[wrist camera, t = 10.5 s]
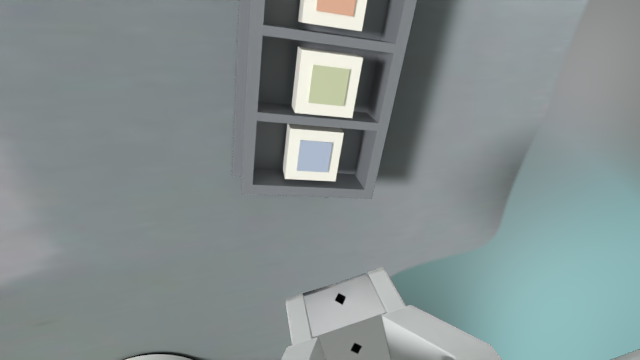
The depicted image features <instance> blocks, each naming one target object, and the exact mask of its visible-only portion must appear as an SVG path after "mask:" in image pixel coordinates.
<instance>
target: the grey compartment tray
mask: <svg viewBox="0 0 640 360" xmlns="http://www.w3.org/2000/svg"><path fill="white" fill-rule="evenodd" d="M416 2H417V0H367V4H366V10H365V16H364V21H363V27H362V31H355V30H349V29H342V28H335V27H328V26H322V25H315V24H308V23H302V22H298V16H299V7H300V0H239V5H238V30H237V55H236V80H235V106H234V131H233V156H232V176H236V177H242V182H241V194H258V195H284V196H310V197H335V198H361V199H372V196H373V192H374V187H375V183H376V179H377V174H378V170H379V165H380V161H381V157H382V152H383V148H384V143H385V139H386V135H387V130H388V126H389V121H390V117H391V113H392V108H393V104H394V99H395V95H396V91H397V86H398V82H399V77H400V73H401V68H402V64H403V60H404V55H405V51H406V46H407V42H408V38H409V33H410V29H411V24H412V20H413V16H414V11H415V7H416ZM298 47H306V48H313V49H321V50H328V51H336V52H343V53H350V54H356V55H358V56H360V57H363V62H362V67H361V73H360V78H359V84H358V89H357V95H356V100H355V106H354V111H353V117H352V118H344V117H333V116H322V115H311V114H300V113H295V112H294V110H293V108H292V97H293V87H294V78H295V69H296V59H297V50H298ZM287 123H288V124H299V125H311V126H323V127H335V128H341V130H342V131H343V132H344V135H343V141H342V147H341V153H340V158H339V164H338V170H337V176H336V181H316V180H296V179H285V177H284V173H283V160H284V150H285V141H286V131H287Z"/></svg>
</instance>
